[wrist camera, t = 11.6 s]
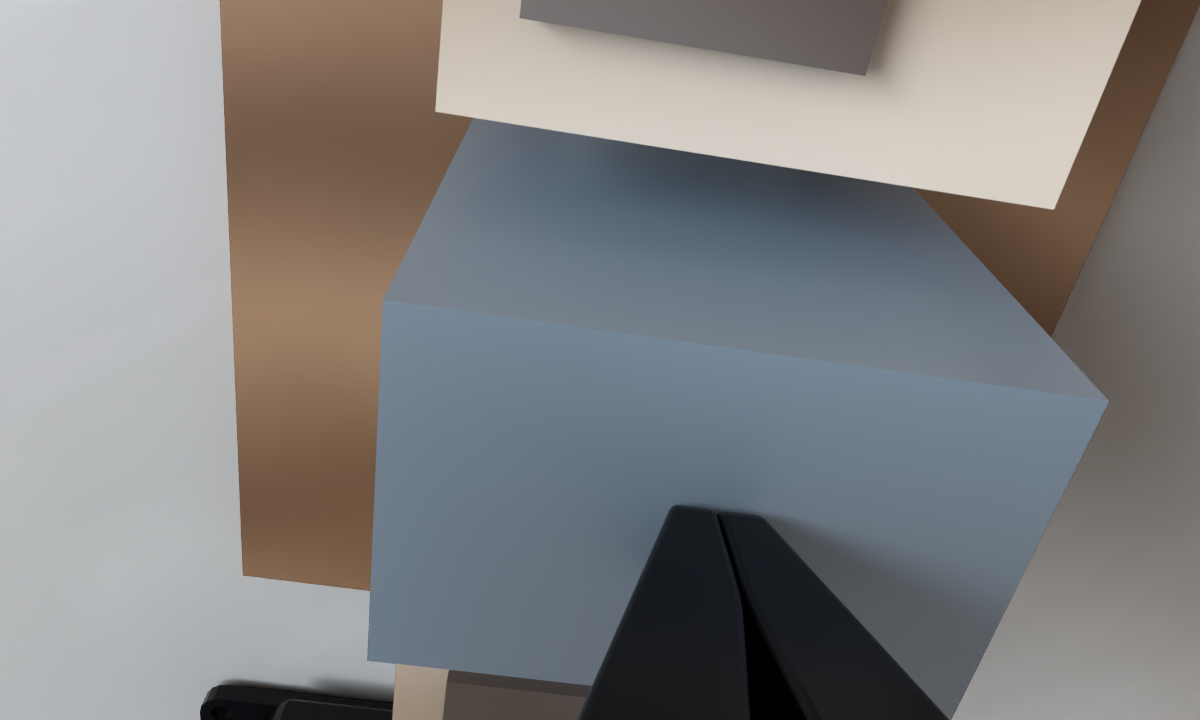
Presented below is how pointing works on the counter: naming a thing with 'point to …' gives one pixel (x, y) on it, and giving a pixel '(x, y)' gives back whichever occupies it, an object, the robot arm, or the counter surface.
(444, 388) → the block
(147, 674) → the counter surface
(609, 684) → the robot arm
